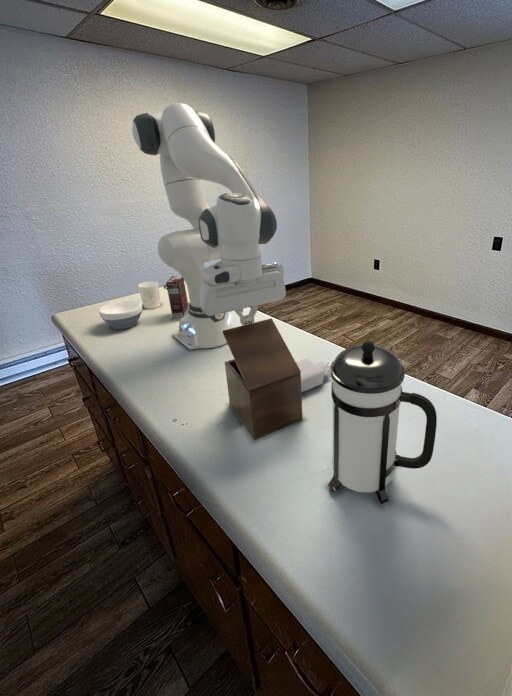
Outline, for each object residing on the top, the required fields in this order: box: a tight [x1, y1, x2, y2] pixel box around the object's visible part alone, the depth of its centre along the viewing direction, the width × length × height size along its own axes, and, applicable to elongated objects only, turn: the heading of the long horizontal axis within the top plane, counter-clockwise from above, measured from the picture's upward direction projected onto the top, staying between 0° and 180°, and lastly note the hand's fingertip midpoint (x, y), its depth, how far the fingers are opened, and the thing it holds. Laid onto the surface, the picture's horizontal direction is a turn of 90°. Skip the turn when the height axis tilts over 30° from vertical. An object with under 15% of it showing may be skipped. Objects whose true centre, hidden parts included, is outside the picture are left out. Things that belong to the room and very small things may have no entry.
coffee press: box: [323, 340, 438, 505], centre depth 66 cm, size 17×16×30 cm
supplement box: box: [165, 275, 189, 321], centre depth 145 cm, size 9×5×16 cm, turn 6°
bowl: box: [98, 299, 144, 330], centre depth 138 cm, size 14×14×8 cm
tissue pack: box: [295, 358, 331, 393], centre depth 103 cm, size 5×9×15 cm
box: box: [224, 358, 303, 441], centre depth 88 cm, size 16×13×13 cm
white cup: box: [137, 281, 162, 310], centre depth 156 cm, size 8×8×10 cm
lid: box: [222, 317, 301, 392], centre depth 83 cm, size 16×13×1 cm
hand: (247, 323), depth 87 cm, fingers closed
